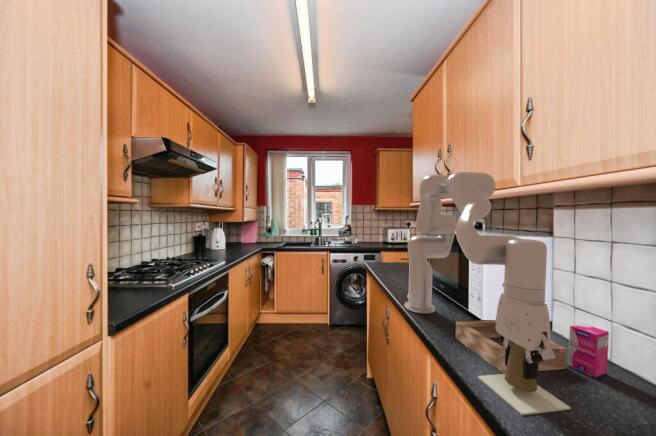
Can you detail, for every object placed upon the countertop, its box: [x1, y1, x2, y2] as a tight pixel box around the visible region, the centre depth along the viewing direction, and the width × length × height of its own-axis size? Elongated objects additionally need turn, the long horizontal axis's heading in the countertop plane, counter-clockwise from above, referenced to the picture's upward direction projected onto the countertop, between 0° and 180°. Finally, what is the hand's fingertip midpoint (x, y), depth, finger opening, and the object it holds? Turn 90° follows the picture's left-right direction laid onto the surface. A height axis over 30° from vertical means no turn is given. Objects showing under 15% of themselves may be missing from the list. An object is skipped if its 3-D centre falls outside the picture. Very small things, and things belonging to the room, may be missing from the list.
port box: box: [455, 319, 567, 374], centre depth 76 cm, size 19×19×6 cm
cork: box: [504, 340, 538, 392], centre depth 59 cm, size 6×6×11 cm
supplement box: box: [567, 322, 610, 380], centre depth 68 cm, size 6×6×12 cm
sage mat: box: [477, 373, 572, 416], centre depth 59 cm, size 12×12×1 cm
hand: (520, 370), depth 59 cm, fingers closed on cork, 4 cm apart
